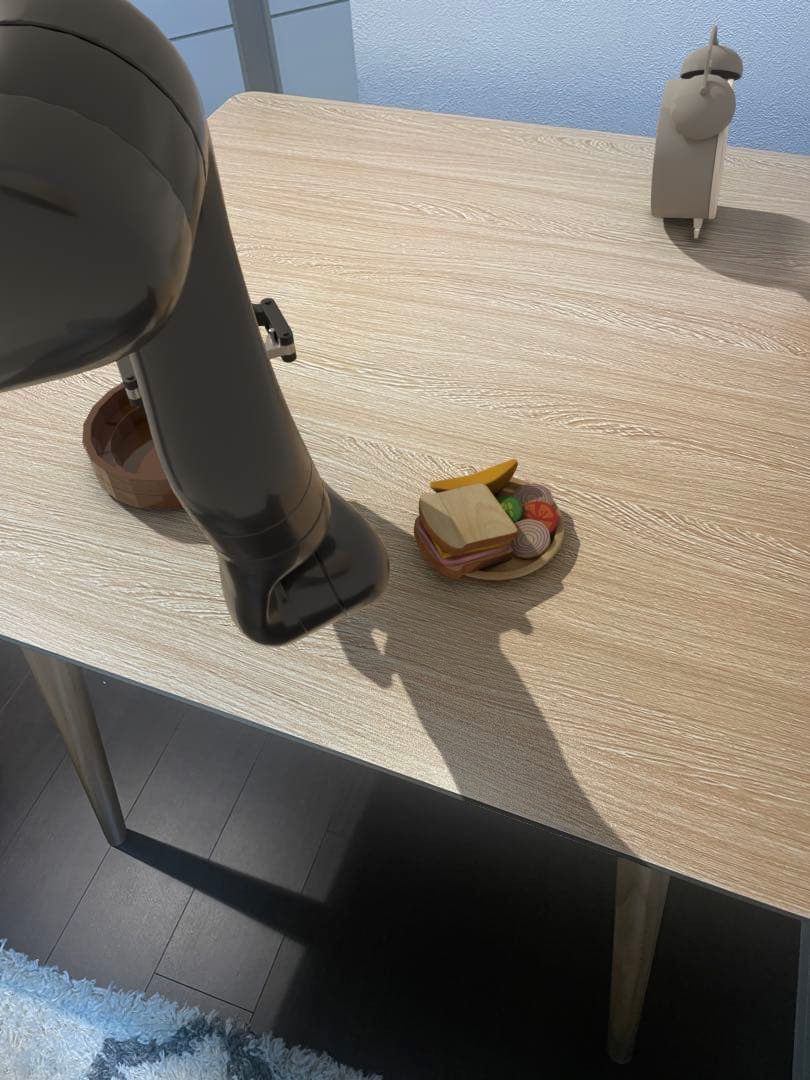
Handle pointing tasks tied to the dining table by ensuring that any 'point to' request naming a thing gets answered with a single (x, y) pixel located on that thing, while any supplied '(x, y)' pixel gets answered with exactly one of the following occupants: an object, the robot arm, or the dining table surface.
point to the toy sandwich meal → (488, 525)
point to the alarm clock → (694, 134)
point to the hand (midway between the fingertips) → (182, 302)
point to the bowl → (126, 453)
